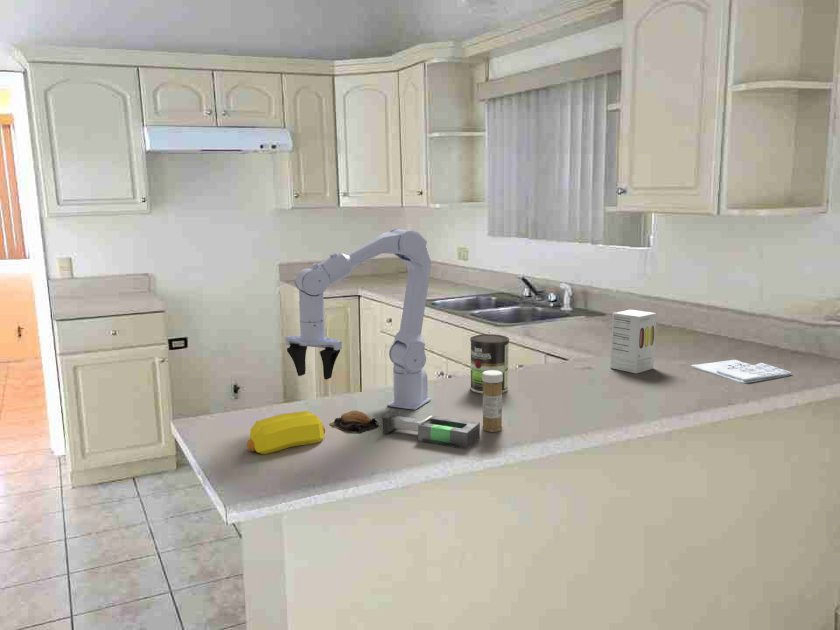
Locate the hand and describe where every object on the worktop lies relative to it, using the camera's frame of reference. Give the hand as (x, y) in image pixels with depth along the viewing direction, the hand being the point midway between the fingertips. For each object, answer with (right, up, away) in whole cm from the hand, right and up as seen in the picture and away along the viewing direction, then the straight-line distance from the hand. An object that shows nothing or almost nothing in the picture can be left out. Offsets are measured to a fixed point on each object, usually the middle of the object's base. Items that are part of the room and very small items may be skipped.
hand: (314, 376), depth 173 cm
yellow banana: (-4, -14, -15) cm, 20 cm away
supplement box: (+88, -1, +44) cm, 98 cm away
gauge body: (+31, -13, -13) cm, 36 cm away
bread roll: (+10, -12, -3) cm, 16 cm away
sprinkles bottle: (+41, -12, -7) cm, 44 cm away
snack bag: (+118, -3, +39) cm, 124 cm away
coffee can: (+44, -6, +25) cm, 51 cm away
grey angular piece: (+22, -12, -9) cm, 27 cm away
